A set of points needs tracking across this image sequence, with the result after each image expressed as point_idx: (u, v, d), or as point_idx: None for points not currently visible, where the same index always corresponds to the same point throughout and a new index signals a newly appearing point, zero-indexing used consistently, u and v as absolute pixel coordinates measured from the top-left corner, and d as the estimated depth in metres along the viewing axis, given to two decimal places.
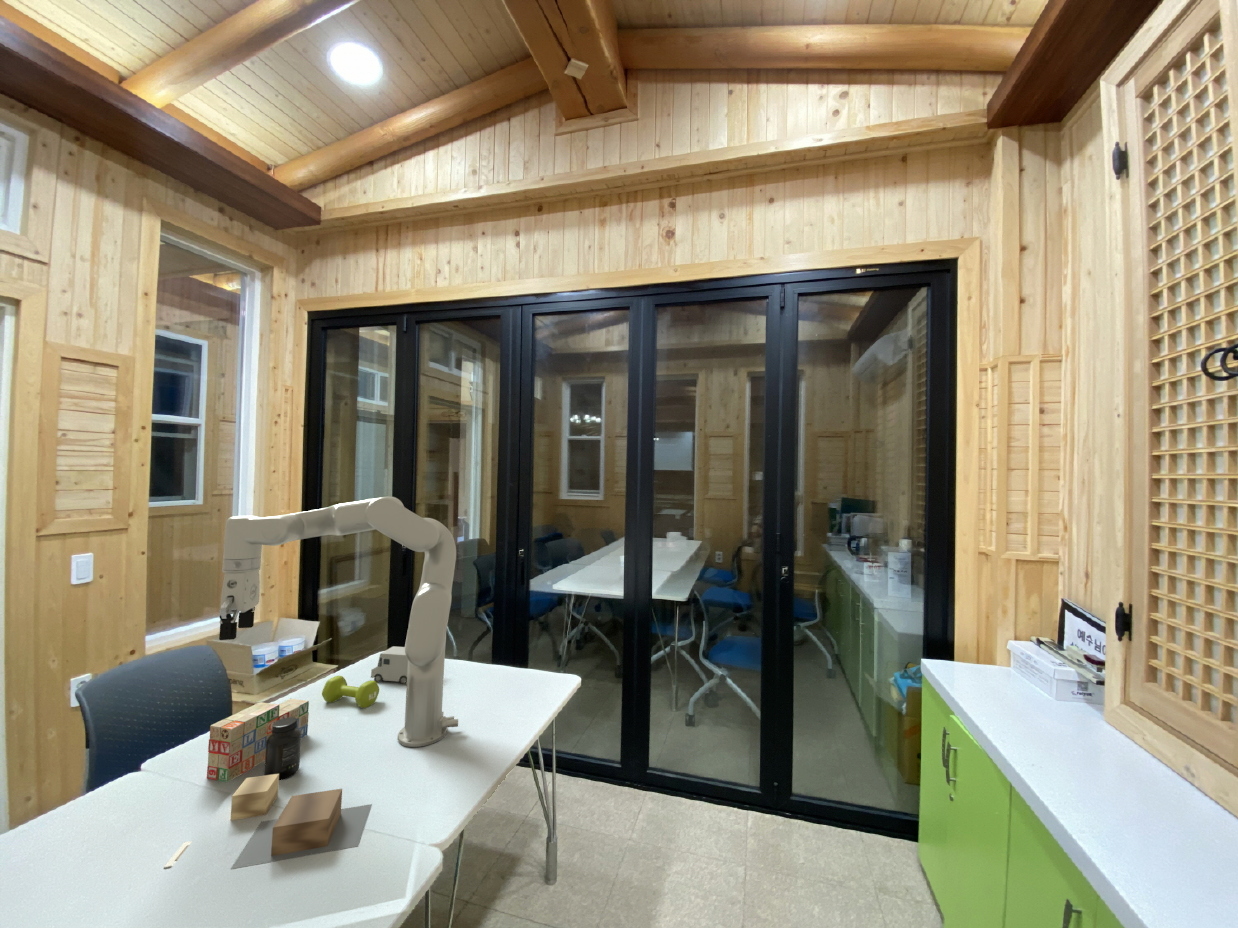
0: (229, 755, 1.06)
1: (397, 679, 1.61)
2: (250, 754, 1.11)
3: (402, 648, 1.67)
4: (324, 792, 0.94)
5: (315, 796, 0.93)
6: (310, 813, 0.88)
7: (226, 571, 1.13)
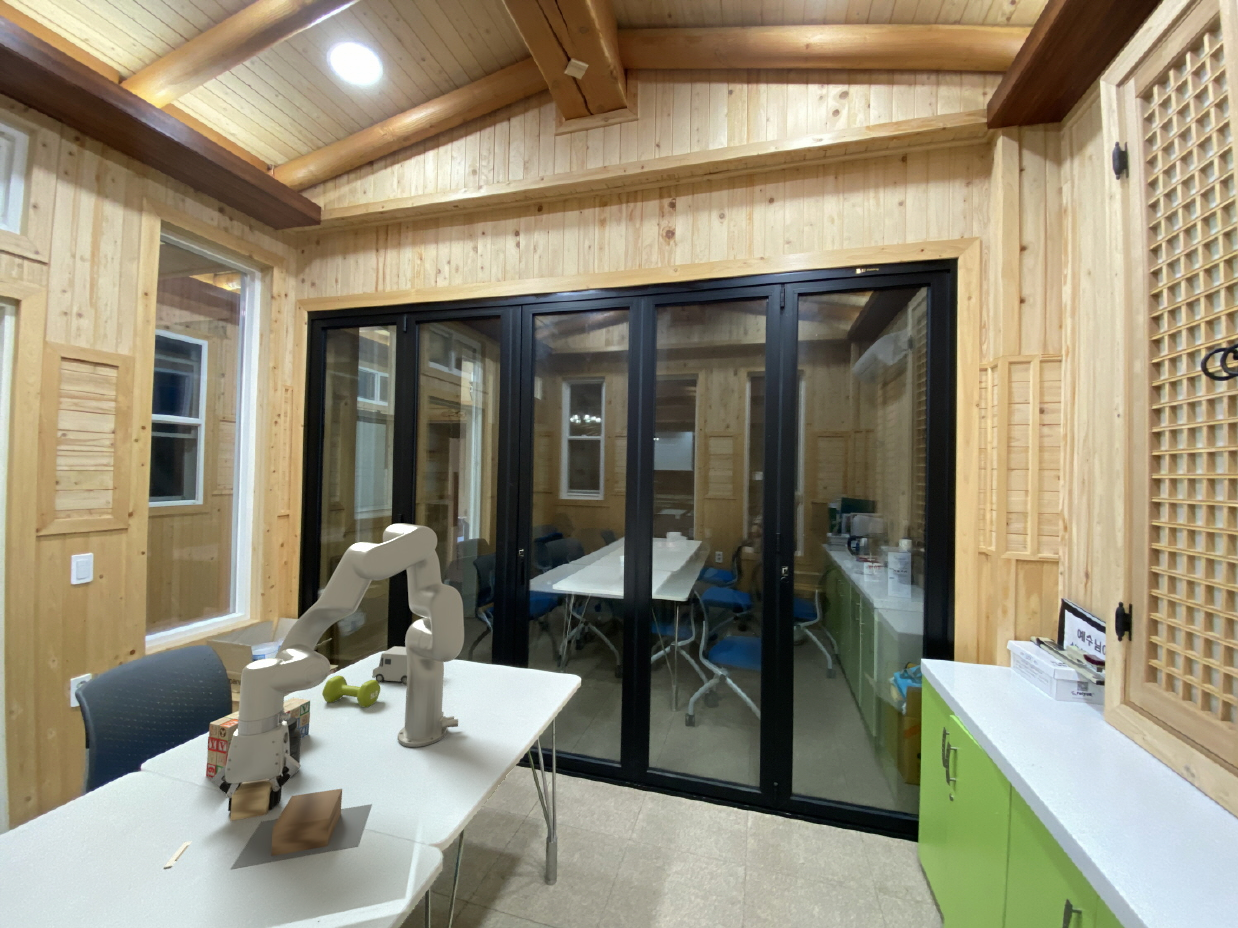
0: (226, 753, 1.07)
1: (398, 679, 1.61)
2: None
3: (403, 648, 1.67)
4: (324, 792, 0.94)
5: (315, 796, 0.93)
6: (310, 813, 0.88)
7: (274, 729, 0.96)
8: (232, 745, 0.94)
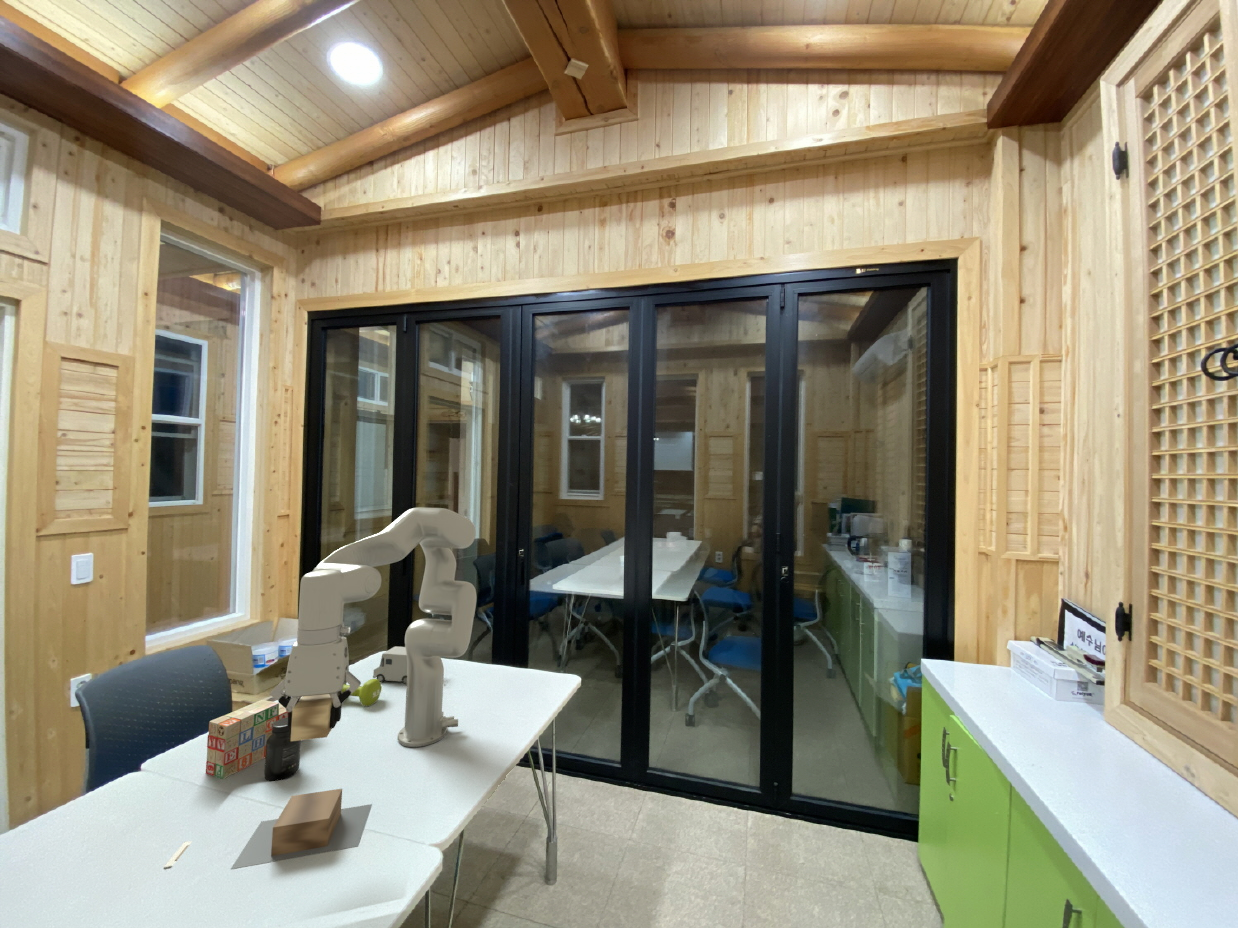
0: (224, 752, 1.07)
1: (399, 679, 1.61)
2: (248, 751, 1.12)
3: (404, 648, 1.67)
4: (324, 792, 0.94)
5: (315, 796, 0.93)
6: (310, 813, 0.88)
7: (334, 641, 0.91)
8: (292, 656, 0.88)
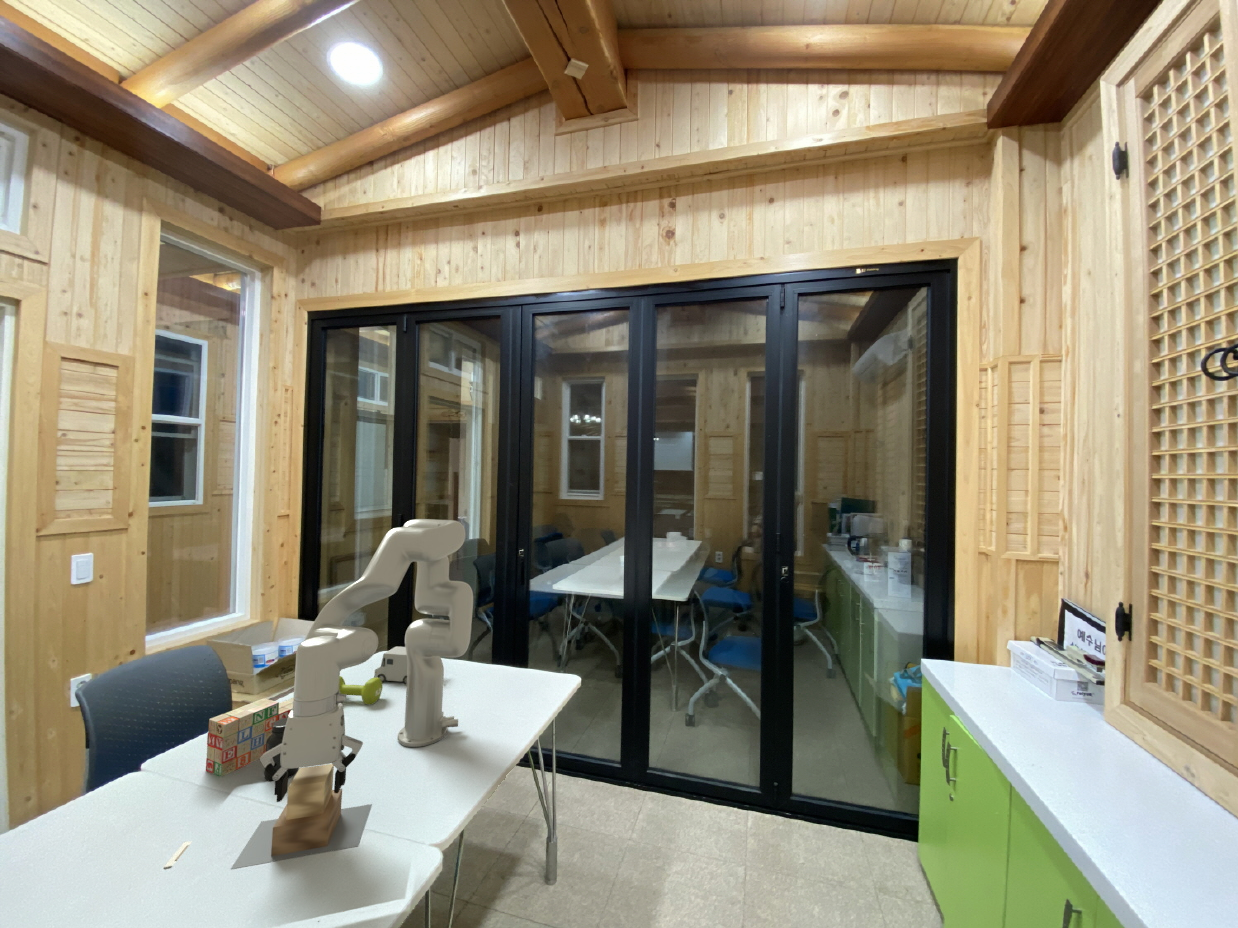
0: (222, 750, 1.08)
1: (400, 679, 1.61)
2: (246, 750, 1.13)
3: (405, 648, 1.67)
4: None
5: None
6: None
7: (331, 711, 0.90)
8: (287, 728, 0.88)
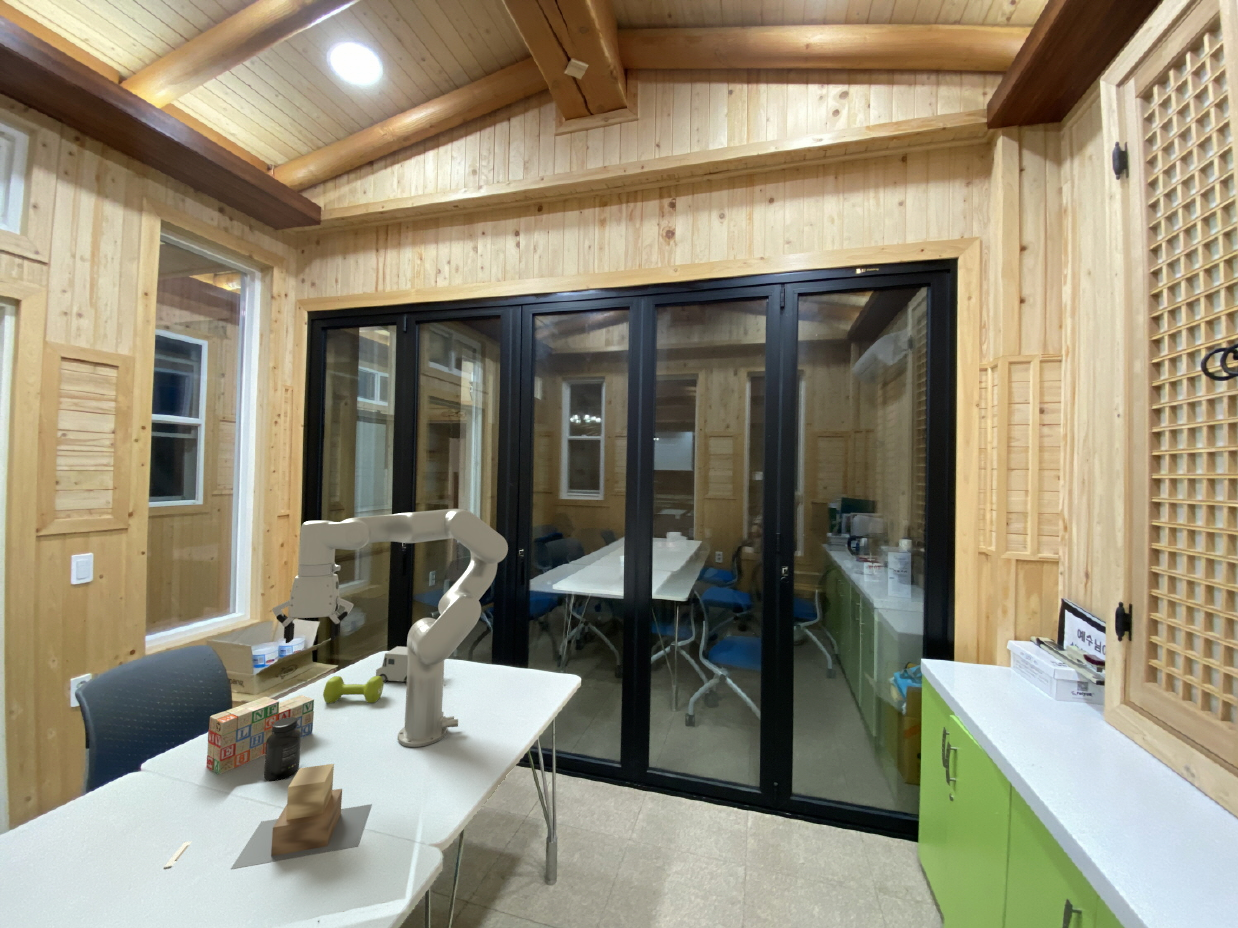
0: (220, 748, 1.09)
1: (402, 679, 1.61)
2: (245, 748, 1.13)
3: (406, 648, 1.67)
4: None
5: None
6: None
7: (328, 575, 1.14)
8: (294, 586, 1.12)
